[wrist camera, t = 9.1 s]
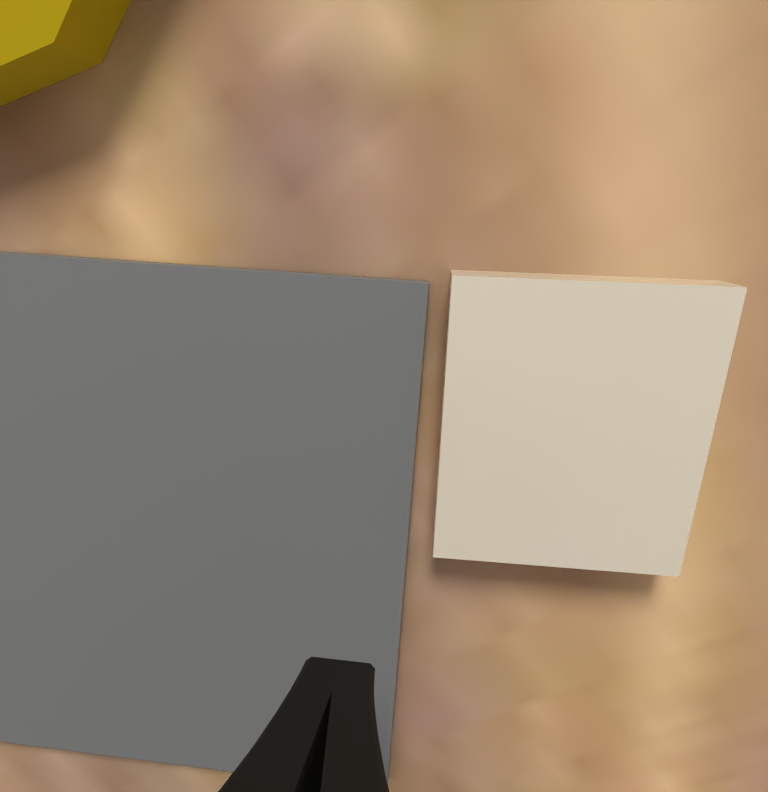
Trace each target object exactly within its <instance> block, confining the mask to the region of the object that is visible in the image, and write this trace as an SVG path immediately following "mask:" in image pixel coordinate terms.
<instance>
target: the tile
mask: <svg viewBox="0 0 768 792" xmlns="http://www.w3.org/2000/svg"><path fill="white" fill-rule="evenodd" d="M746 291H747V287H744V286H740V285H736V284H732V283H728V282H724V281H715V280H690V279H665V278H640V277H615V276H590V275H565V274H540V273H515V272H490V271H465V270H451V276H450V291H449V305H448V320H447V335H446V350H445V365H444V380H443V395H442V410H441V425H440V440H439V455H438V469H437V484H436V499H435V514H434V529H433V557H435V558H448V559H461V560H473V561H486V562H499V563H511V564H524V565H537V566H549V567H562V568H575V569H587V570H600V571H613V572H625V573H638V574H651V575H664V576H676V577H679V576H680V571H681V567H682V563H683V559H684V554H685V550H686V546H687V542H688V537H689V533H690V529H691V525H692V520H693V516H694V512H695V508H696V504H697V499H698V495H699V491H700V487H701V482H702V478H703V474H704V470H705V465H706V461H707V457H708V453H709V448H710V444H711V440H712V436H713V431H714V427H715V423H716V419H717V414H718V410H719V406H720V402H721V397H722V393H723V389H724V385H725V380H726V376H727V372H728V368H729V363H730V359H731V355H732V351H733V346H734V342H735V338H736V334H737V329H738V325H739V321H740V317H741V312H742V308H743V304H744V300H745V295H746Z"/></svg>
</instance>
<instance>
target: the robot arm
mask: <svg viewBox="0 0 768 792" xmlns="http://www.w3.org/2000/svg"><path fill="white" fill-rule="evenodd" d="M374 678H375V668H374V667H373V666H372V665H371V664H370V663H364V662H355V661H346V660H337V659H329V658H320V657H310V658H309V659H307V660H306V661H305V663H304V665H303V667H302V669H301V671H300V673H299V675H298V677H297V679H296V680H295V682H294V684H293V686H292V687H291V689H290V691H289V692H288V694H287V696H286V697H285V699H284V701H283V702H282V704H281V705H280V707H279V709H278V710H277V712H276V713H275V715H274V716H273V718H272V719H271V721H270V722H269V724H268V725H267V726H266V728H265V729H264V731H263V732H262V734H261V735H260V737H259V738H258V740H257V741H256V743H255V744H254V745H253V747H252V748H251V750H250V751H249V752H248V754H247V755H246V756H245V758H244V759H243V760H242V762H241V763H240V764H239V766H238V767H237V768H236V769H235V771H234V772H233V773H232V775H231V776H230V777H229V779H228V780H227V781H226V783H225V784H224V785H223V786H222V788H221V789H220V790H219V791H218V792H389V789H388V785H387V780H386V775H385V771H384V765H383V760H382V754H381V749H380V743H379V737H378V730H377V723H376V713H375V702H374Z"/></svg>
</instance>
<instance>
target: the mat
mask: <svg viewBox="0 0 768 792" xmlns="http://www.w3.org/2000/svg"><path fill="white" fill-rule="evenodd" d="M428 289H429V281H416V280H402V279H388V278H373V277H359V276H345V275H330V274H316V273H301V272H287V271H273V270H258V269H244V268H230V267H215V266H201V265H187V264H172V263H158V262H144V261H129V260H115V259H100V258H86V257H72V256H57V255H43V254H29V253H14V252H0V742H6V743H14V744H21V745H29V746H37V747H45V748H52V749H60V750H68V751H76V752H83V753H91V754H99V755H107V756H114V757H122V758H130V759H138V760H145V761H153V762H161V763H169V764H177V765H184V766H192V767H200V768H208V769H215V770H223V771H231V772H234V771H235V769H236V768H237V767H238V766H239V764H240V763H241V762H242V760H243V759H244V758H245V756H246V755H247V754H248V752H249V751H250V750H251V748H252V747H253V745H254V744H255V743H256V741H257V740H258V738H259V737H260V735H261V734H262V732H263V731H264V729H265V728H266V726H267V725H268V724H269V722H270V721H271V719H272V718H273V716H274V715H275V713H276V712H277V710H278V709H279V707H280V705H281V704H282V702H283V701H284V699H285V697H286V696H287V694H288V692H289V691H290V689H291V687H292V686H293V684H294V682H295V680H296V679H297V677H298V675H299V673H300V671H301V669H302V667H303V665H304V663H305V661H306V660H307V659H309V658H310V657H320V658H329V659H337V660H346V661H355V662H364V663H370V664H371V665H372V666H373V667H374V668H375V678H374V702H375V713H376V723H377V730H378V737H379V743H380V749H381V754H382V760H383V765H384V771H385V775H386V780H387V785H388V773H389V761H390V748H391V736H392V724H393V712H394V700H395V688H396V676H397V664H398V652H399V640H400V628H401V615H402V603H403V591H404V579H405V567H406V555H407V543H408V531H409V519H410V507H411V495H412V482H413V470H414V458H415V446H416V434H417V422H418V410H419V398H420V386H421V374H422V362H423V349H424V337H425V325H426V313H427V301H428Z"/></svg>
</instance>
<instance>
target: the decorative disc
mask: <svg viewBox="0 0 768 792" xmlns="http://www.w3.org/2000/svg"><path fill="white" fill-rule="evenodd" d="M130 2H131V0H0V106H3V105H5V104H7V103H10V102H12V101H14V100H17V99H19V98H21V97H24V96H26V95H28V94H31V93H33V92H35V91H38V90H40V89H42V88H45V87H47V86H49V85H52V84H54V83H56V82H59V81H61V80H64V79H66V78H68V77H71V76H73V75H75V74H78V73H80V72H82V71H85V70H87V69H89V68H92V67H94V66H96V65H99V64H101V63H102V62H103V60H104V58H105V56H106V53H107V51H108V49H109V47H110V45H111V43H112V41H113V38H114V36H115V34H116V32H117V30H118V28H119V26H120V23H121V21H122V19H123V17H124V15H125V13H126V11H127V8H128V6H129V4H130Z"/></svg>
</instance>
